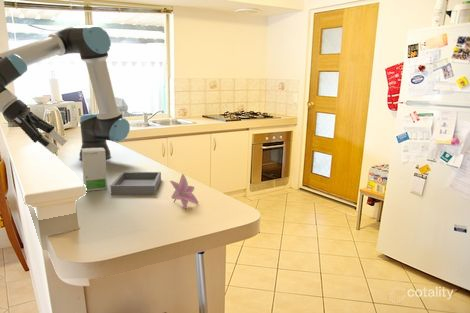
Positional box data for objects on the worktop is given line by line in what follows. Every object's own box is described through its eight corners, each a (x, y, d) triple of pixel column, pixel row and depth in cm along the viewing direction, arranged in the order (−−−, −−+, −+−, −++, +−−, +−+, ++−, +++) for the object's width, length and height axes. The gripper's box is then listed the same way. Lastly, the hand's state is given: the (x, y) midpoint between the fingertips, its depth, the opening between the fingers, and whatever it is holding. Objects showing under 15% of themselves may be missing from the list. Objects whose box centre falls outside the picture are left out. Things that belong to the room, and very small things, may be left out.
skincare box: (84, 191, 129) (81, 151, 125) (83, 186, 134) (80, 148, 131) (108, 188, 133) (105, 150, 129) (106, 183, 138) (103, 146, 134)
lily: (165, 215, 113) (178, 193, 109) (156, 191, 121) (167, 171, 117) (195, 217, 120) (208, 197, 116) (185, 195, 128) (196, 176, 125)
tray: (122, 179, 144) (122, 171, 143) (161, 179, 145) (160, 172, 144) (111, 194, 126) (110, 185, 126) (154, 194, 128) (154, 185, 127)
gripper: (15, 109, 131) (61, 147, 138) (-13, 118, 107) (44, 162, 115) (29, 96, 131) (74, 134, 138) (4, 101, 107) (60, 146, 115)
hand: (61, 147), depth 126 cm, fingers open, 13 cm apart
